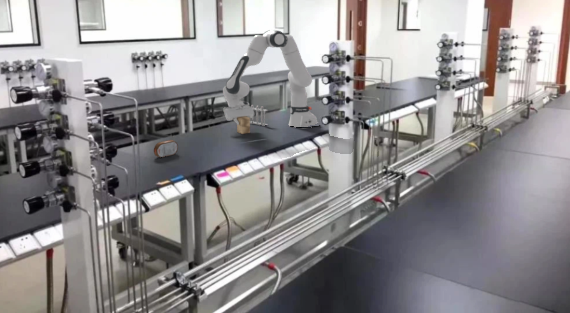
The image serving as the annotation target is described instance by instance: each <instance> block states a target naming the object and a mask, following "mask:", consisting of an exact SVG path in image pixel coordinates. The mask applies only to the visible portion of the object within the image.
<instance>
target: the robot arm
mask: <svg viewBox="0 0 570 313" xmlns="http://www.w3.org/2000/svg"><path fill="white" fill-rule="evenodd" d="M269 47H270V48H280V50H281V54H282V56H283V59H284V62H285V64H286V66H287V68H288V69H289V72H288V73H287V80H288V83H289V87H290V108H289V109H290V110H289V111H290V112H289V113H290V115H289V116H290V118H289V122H288V125H289V126H288V127H290V126H294V127H293V128H296V127H308V126H310V125H315V124H317V123H318V120H317V119H318V118H317V116H316V115H315V114H313V113H312V112H311V110H312V108H313V107H312V106H308V93H307V92H306V91H307V90H306V88H307V87H309V86H311V84H312V83H313V77H312V75H311V74H310V72H309V71H308V70H309V69H308V68H307V67H306V64H305V62H304V61H303V59H302V56H301V53H300V50H299V47H298V44H297V42H296V40H295V39H294V37H293V36H292V35H290V34H284V32H282V31H280V30H276V29H271V30H270V29H269V30H267V31H264V33H262V34H257V35H256V34H255V35H254V36H253V38H252V39H251V41H250V43H249V45H248V48H247V49H246V51H245V53H244V55H243V56H241V58H240V59H239V61H238V62H237V64H236V66H235V68H234V70H233V72H232V73H231V75H230V77H229V78H228V79H227V81H226V83H225V85H224V86H223V88H222V93H223V97H224V99H225V101H226V102H227V106H228V107H224V108H223V109H222V110H223V113H224V116H225V119H226V121H228V122H229V121H233V122H235V123H236V126H237V125H240V121H238V120H237V117H245V116H246V117H249V118H250V119H251V118H252V117H253V116H255V110H254V111H253V109H252V108H251V106H250V103H249V102H248V101H244V100H241V99H243V98H245V97H247V96H248V95H249V94H250V91H251V88H250V85H249V84H248V83H246V82H245V81H241V79H242V77H243V75H244V73H245V70H246V69H247V68H249V67H252V66H257V65H259V64H260V63H261V62H262V59H263V58H264V55H265V52H266V50H267V49H268V48H269Z"/></svg>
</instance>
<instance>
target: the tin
mask: <svg viewBox="0 0 570 313" xmlns="http://www.w3.org/2000/svg"><path fill="white" fill-rule="evenodd" d="M178 150H179V145H178V142H177V141H175V140H173V139H169V140H163V141H159V142H157V143H156V144H155V146H154V147H153V153H154V156H155V157H157V158H161V157H162V158H166V157H169V156H174V155H175V154H177V152H178ZM165 156H166V157H165Z"/></svg>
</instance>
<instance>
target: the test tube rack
mask: <svg viewBox="0 0 570 313" xmlns="http://www.w3.org/2000/svg"><path fill="white" fill-rule="evenodd" d="M250 107H251V108H252V109H253V111H254V112H255V115H254V116H255V117H254V116H253V117H252V118H250V125H252V124H253V125H256V126H260V125H262V126H261V127H266V126H265V125H267V126H269V124H268V123H266V112H268V111H269V109H264V106H260V108H259V105H256V106H254V104H251V106H250ZM259 111H260V122H259ZM254 118H255V119H254ZM254 120H255V121H254Z"/></svg>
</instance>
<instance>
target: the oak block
mask: <svg viewBox="0 0 570 313" xmlns="http://www.w3.org/2000/svg"><path fill="white" fill-rule="evenodd" d="M237 120H238V121H240V125H237V124H236V132H237V133H239V134H242V135H244V134H250V133H251V124H250V121H251V118H249V117H246V116H245V117H237Z"/></svg>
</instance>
